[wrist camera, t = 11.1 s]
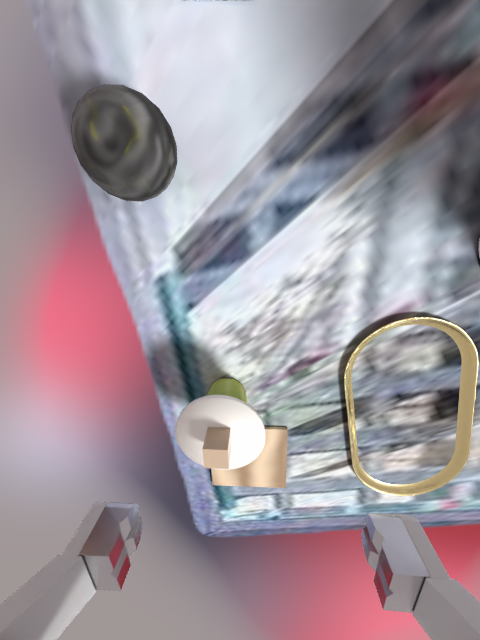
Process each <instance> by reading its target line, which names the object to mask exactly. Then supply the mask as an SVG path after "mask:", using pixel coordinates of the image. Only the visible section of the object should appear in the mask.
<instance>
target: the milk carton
mask: <svg viewBox="0 0 480 640" xmlns="http://www.w3.org/2000/svg"><path fill="white" fill-rule="evenodd" d="M185 1H220V0H185Z"/></svg>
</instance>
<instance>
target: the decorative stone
mask: <svg viewBox="0 0 480 640" xmlns="http://www.w3.org/2000/svg"><path fill="white" fill-rule="evenodd" d="M71 134H72V140H73V147H74V150H75V152H76V154H77V157H78V159H79V162H80V164H81V166H82V167H83V168H84V170H85V171H86V172H87V174H88V175H89V176H90V178H91V179H92V180H93V182H95V183H96V184H97V185H98V186H100V187H101V188H102V189H103V190H105V191H106V192H107V193H109V194H111V195H113V196H116V197H118V198H121V199H123V200H126V201H145V200H148V199H151V198H154V197H157V196H158V195H159V194H160V193H162V192H163V191H164V190H165V189H166V188H167V187H168V185H169V184H170V182H171V180H172V179H173V177H174V173H175V169H176V165H177V147H176V143H175V139H174V136H173V133H172V129H171V127H170V125H169V124H168V122H167V120H166V119H165V117H164V116H163V114H162V112H161V111H160V109H159V108H158V107H157V106H156V105H155V104H153V103H152V102H151V101H150V100H149V99H148V98H147V97H146V96H144V95H143V94H142V93H140V92H138V91H135V90H133V89H131V88H128V87H126V86H124V85H101V86H99V87H97V88H94V89H92V90H90V91H88V92H87V93H86V94H85V95H84V96H83V97H82V98H81V100H80V101H79V102H78V104H77V106H76V109H75V111H74V113H73V117H72V126H71Z"/></svg>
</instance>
